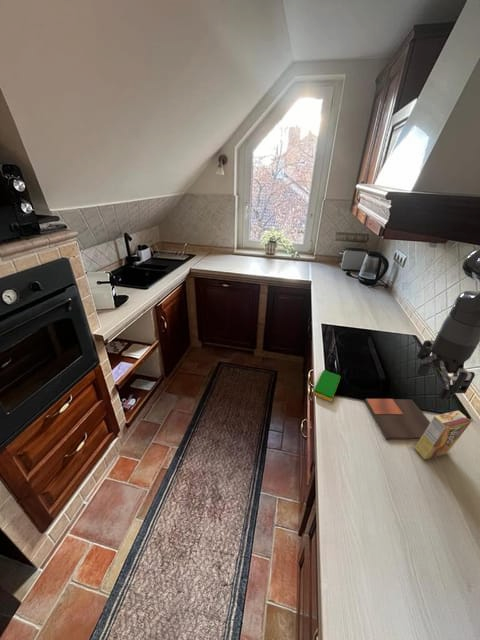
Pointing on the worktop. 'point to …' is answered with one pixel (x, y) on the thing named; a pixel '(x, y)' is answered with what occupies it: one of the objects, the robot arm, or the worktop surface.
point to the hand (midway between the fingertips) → (431, 386)
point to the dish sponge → (327, 385)
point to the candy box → (442, 434)
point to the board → (398, 418)
